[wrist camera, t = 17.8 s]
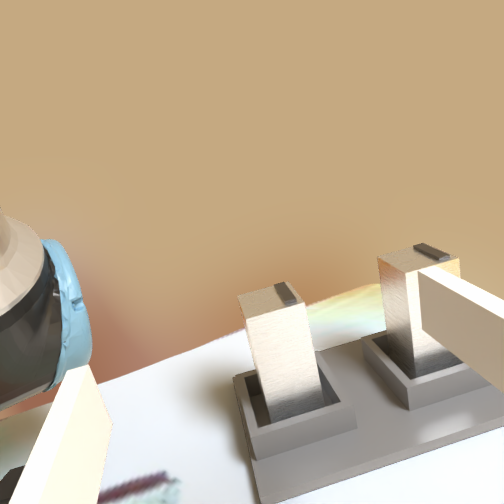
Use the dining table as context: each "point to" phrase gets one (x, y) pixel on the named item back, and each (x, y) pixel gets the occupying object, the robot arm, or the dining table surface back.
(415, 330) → the billet
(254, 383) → the pallet
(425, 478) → the dining table surface
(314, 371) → the billet
